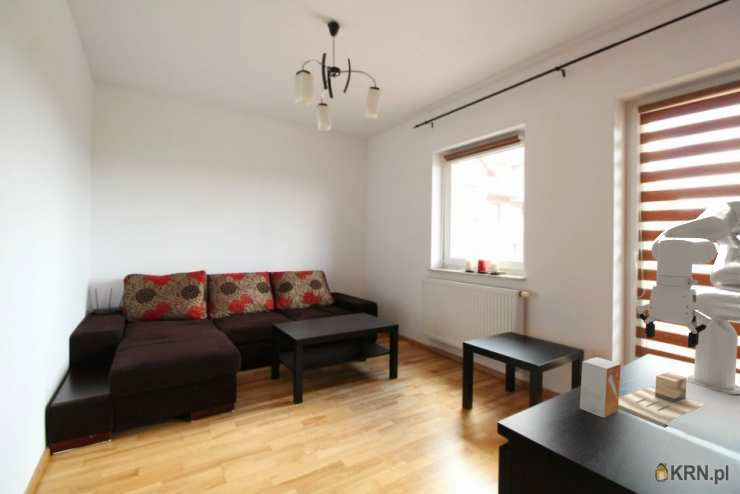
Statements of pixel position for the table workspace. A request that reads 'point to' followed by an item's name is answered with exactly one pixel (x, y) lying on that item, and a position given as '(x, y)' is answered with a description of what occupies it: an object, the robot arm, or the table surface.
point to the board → (655, 406)
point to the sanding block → (670, 387)
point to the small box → (600, 386)
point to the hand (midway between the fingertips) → (670, 342)
